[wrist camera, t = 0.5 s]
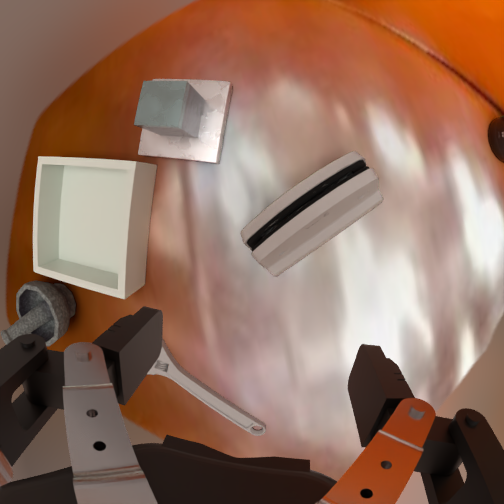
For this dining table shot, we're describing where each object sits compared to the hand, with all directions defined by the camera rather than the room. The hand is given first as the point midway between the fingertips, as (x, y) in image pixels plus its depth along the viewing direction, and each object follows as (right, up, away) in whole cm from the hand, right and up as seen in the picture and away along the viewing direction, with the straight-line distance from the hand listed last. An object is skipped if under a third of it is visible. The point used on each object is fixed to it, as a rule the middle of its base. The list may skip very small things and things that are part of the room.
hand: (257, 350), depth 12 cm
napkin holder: (+7, +8, +25) cm, 27 cm away
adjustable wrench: (-8, -17, +32) cm, 37 cm away
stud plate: (-8, +20, +24) cm, 32 cm away
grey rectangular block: (-8, +20, +22) cm, 30 cm away
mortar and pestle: (-31, -5, +31) cm, 45 cm away
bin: (-21, +8, +27) cm, 36 cm away
